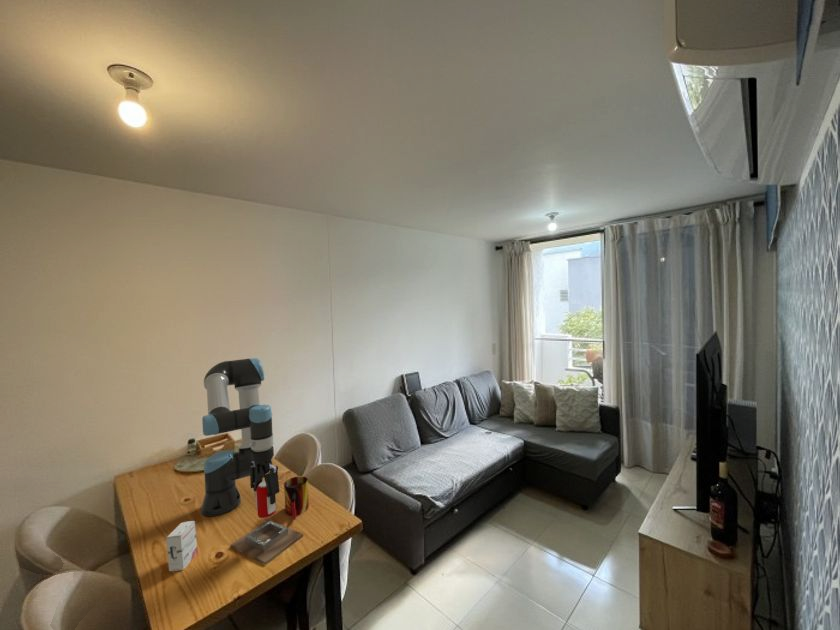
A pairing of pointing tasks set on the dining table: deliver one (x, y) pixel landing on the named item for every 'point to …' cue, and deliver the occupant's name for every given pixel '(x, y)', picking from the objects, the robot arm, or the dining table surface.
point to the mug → (296, 496)
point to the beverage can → (263, 501)
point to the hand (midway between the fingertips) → (265, 509)
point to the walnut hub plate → (271, 552)
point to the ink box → (181, 546)
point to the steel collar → (264, 546)
